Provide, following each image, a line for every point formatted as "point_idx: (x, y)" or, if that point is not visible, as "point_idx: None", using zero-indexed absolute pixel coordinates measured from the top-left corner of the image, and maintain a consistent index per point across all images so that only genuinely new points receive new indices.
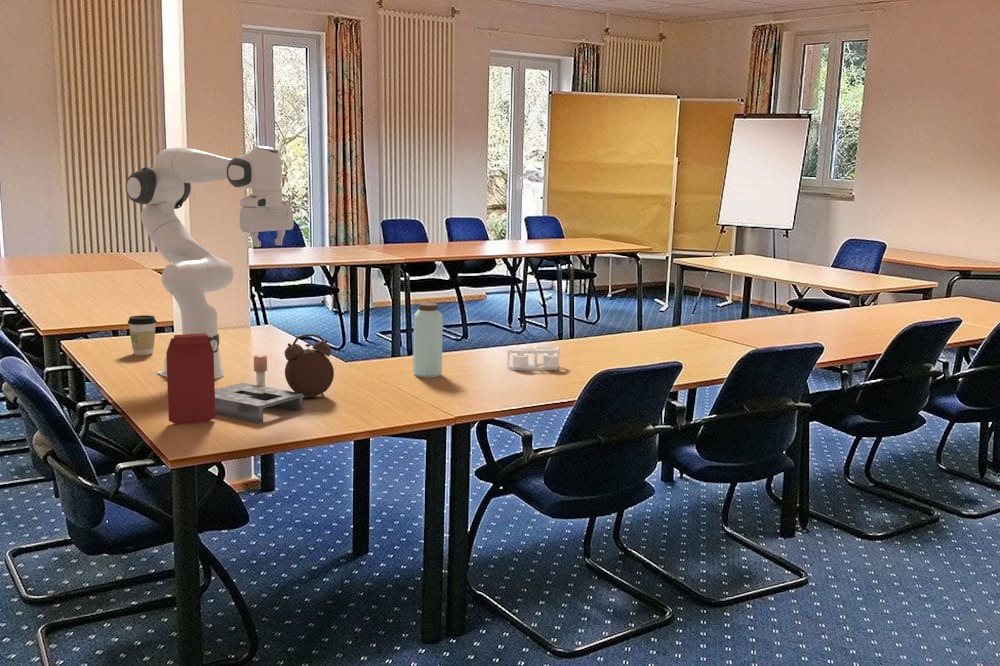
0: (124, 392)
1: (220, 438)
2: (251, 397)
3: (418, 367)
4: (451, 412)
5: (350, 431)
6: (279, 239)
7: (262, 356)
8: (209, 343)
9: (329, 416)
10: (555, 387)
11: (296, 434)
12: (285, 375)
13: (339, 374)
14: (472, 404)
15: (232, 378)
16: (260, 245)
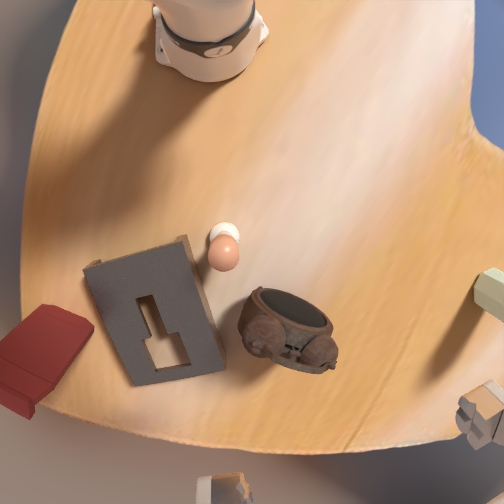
0: (64, 74)
1: (82, 386)
2: (149, 337)
3: (480, 295)
4: (354, 441)
5: (216, 445)
6: (484, 442)
7: (225, 262)
8: (41, 397)
9: (235, 396)
10: None
11: (159, 424)
12: (245, 304)
13: (423, 189)
14: (395, 426)
15: (260, 77)
16: (246, 500)
